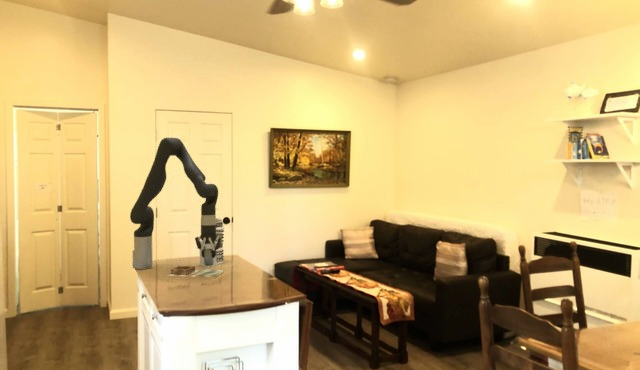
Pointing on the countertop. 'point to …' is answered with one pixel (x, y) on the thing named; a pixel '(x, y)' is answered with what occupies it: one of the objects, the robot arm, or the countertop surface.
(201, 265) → the skincare box
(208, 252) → the end cover
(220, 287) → the countertop surface
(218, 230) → the decorative candle
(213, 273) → the caddy
